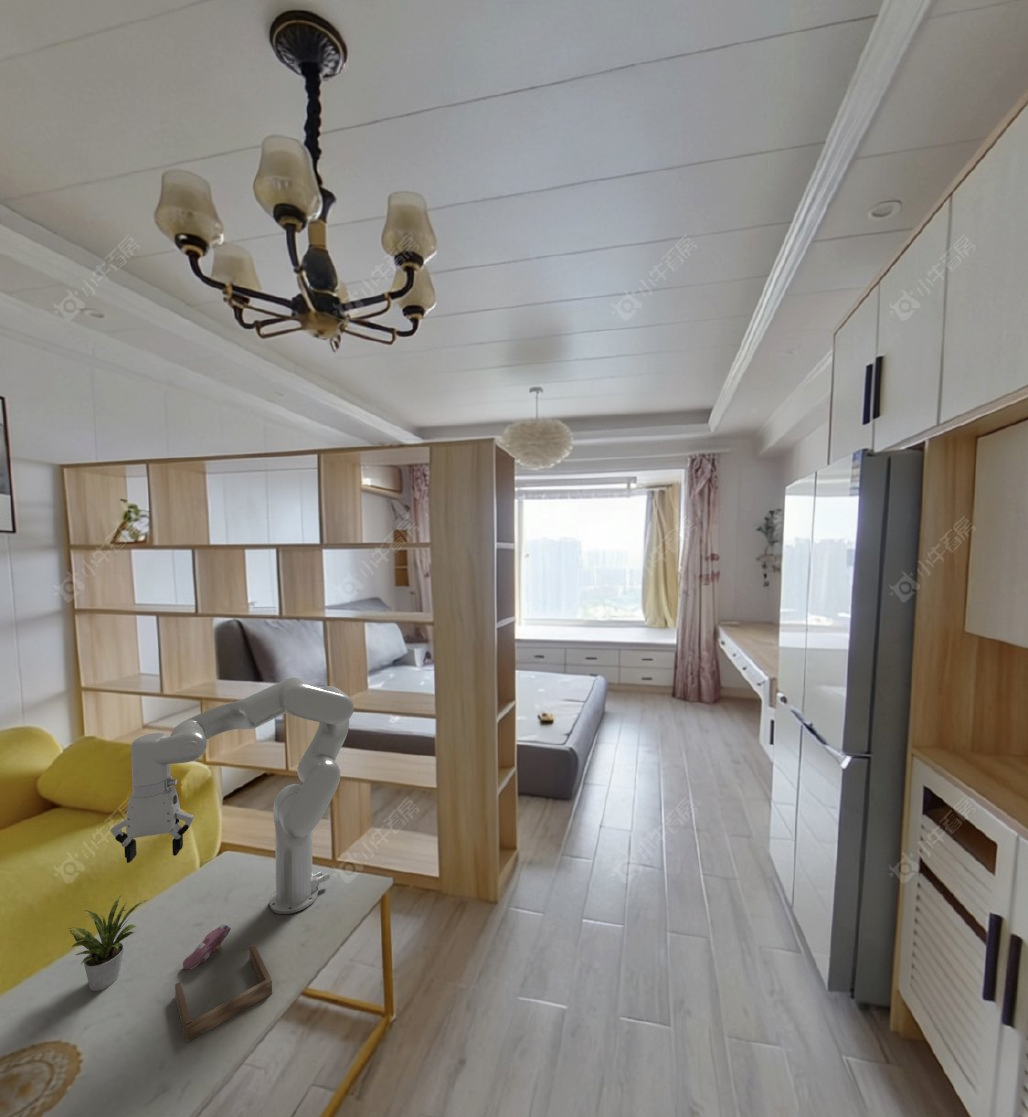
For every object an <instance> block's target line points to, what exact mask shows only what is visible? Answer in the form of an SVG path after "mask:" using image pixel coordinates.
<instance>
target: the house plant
mask: <svg viewBox="0 0 1028 1117" xmlns="http://www.w3.org/2000/svg"><path fill="white" fill-rule="evenodd" d="M121 896H122V894H120V895H119V896H118V897H117V898H116V899H115V901H114V903H113V905H112V906H111V909H110V911H109V914H108V918H107V922H106V918H105V916H104V915H102V914H100V916H99V914H97V913H95V912H93V911H90V910H88V909H87V910H86V909H84V910H83V911H84V912H85V913H86V914H88V915H89V916H87V915H86V916H85V917H87V918H90V919H91V920H93V922H94V924H95V927H96V930H97V933H98V935H99V938H100V940H98V939H97V938H96V937H95V936H94V935H93V934H92V932H89V931H88V930H87V929H85V928H81V927H76V926H75V927H74V926H72V927H67V929H69V930H68V931H69V932H70V934H71V935H72V936H73V938H74V940H75V943H73V944H72V946H71V948H74V947H79V946H82V947H84V948H86V949H87V950H84V951H80V952H78V953H76V954H75V956H79V955H86V957H84V958H83V959H82V962H81V963H80V965H82V964H83V965H84V970H85V974H86V978H87V982H88V986H89V989H90V990H91V991H93V992H94V991H95V992H96V991H100V990H104V989H106V988H108V987H109V986H111V985H113V983H115V982H116V981H118V978H119V976H120V971H121V965H122V961H123V954H124V951H125V944H124V943H123V942H122V941H123V940H125V939H126V938H128V937H129V936H130V935H133V934H134V933H136V932H134V931H131V930H132V929H134V928H137V926H136V925H135V924H128V925H127V926H126V927H124V926H125V924H126V923H127V922H128V921H129V920H130V919H131V917H130V918H128V917H129V916H130V915H131V913H132V912H133V911H135V910H136V908H138V907H139V906H140V905H141V904H143V903H145V902H147V901H148V899H146V900H143V901H141V902H138V903H137V904H135V905H134V906H132V907H131V908H130V909H129V910H128V909H125V908H126V906H127V904H128V902H127V901H126V902H125V903H124V904H123V905H122V907H121V908H120V910H119V912H118V914H117V915H116V917H115V914H116V911H117V909H118V906H119V902H120V899H121ZM125 911H128V912H126V914H125V915H124V916H123V918H122V920H121V917H122V914H123V912H125ZM101 917H102V919H101ZM114 918H115V919H114ZM127 918H128V919H127ZM120 920H121V921H120ZM123 927H124V928H123ZM121 929H122V930H121ZM120 930H121V931H120ZM79 933H80V934H79ZM100 941H101V942H100Z"/></svg>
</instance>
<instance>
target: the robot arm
mask: <svg viewBox="0 0 1028 1117" xmlns="http://www.w3.org/2000/svg"><path fill="white" fill-rule="evenodd" d="M354 710H355V704H354V702H353V700H352V698H351V697H350V696H349V695H348V694H346V693H345V692H343V690H341V689H340V688H338V687H335V686H333V685H326V686H323V687H322V688H318V687H315V686H312V685H310V684H308V683H307V682H306V681H304V680H303V679H301V678H299V677H290V678H286V679H284V680H282V681H279V682H277V683H276V684H273V685H271V686H268V687H267V688H264V689H262V690H260V691H257V692H256V693H253V694H251V695H249V696H247V697H245V698H242V699H239V700H236V701H232V702H228V703H225V704H222V705H219V706H216V707H215V706H214V707H213V708H211V709H208V710H207V709H206V710H205V711H203V712H200V713H198V714H197V715H194V716H192V717H189V718H188V719H186V720H183V721H181V722H180V723H179V724H177V725H176V726H175V727H174V728H173V730H172V731H171V733H170V735H169V736H168V734H167V733H164V732H152V733H148V734H144V735H142V736H139V737H137V738H135V739H134V740H133V741H132V742H131V746H130V757H131V761H130V762H131V783H132V784H131V787H132V794H131V795H130V796H129V799H128V804H127V809H126V819H123V821H120V822H119V823H117V824H116V825H114V826H112V827H111V829H110V832H111V834H112V836H113V837H115V838H114V839H115V840H116V841H117V842H119V843H120V844H121V847H123V848H124V858H126V864H129V863H131V862H132V861H133V860H134V859H135V857H136V856H137V840H136V839H137V838H143V837H150V836H151V837H152V836H158V835H163V834H169V835H171V837H173V839H172V840H171V841H172V842H171V843H172V846H171V847H172V856H173V857H174V856H177V855H178V854H179V852H180V851H181V850H182V849H183V847H184V840H183V839H184V836H183V835H184V834H186V833H185V832H187V831H188V830H189V828H190V826H191V825H192V823H193V821H194V819H195V815H193V814H190V813H187V812H184V811H181V807H180V800H179V794H178V792H177V788H176V786H175V785H177V784H178V779H177V778H173V776H172V774H171V765H172V764H173V765H174V764H176V765H177V764H187V763H191V762H194V761H196V760H198V759H199V758H201V757H203V755H204V754H205V752H206V751H207V748H208V747H207V746H208V741H207V740H209V739H211V738H213V737H216V736H217V735H220V734H223V733H226V732H229V731H234V730H253V729H256V728H259V727H260V726H262V725H264V724H266V723H269V722H271V721H272V720H275V719H277V718H279V717H280V716H281V717H282V716H283V715H285V714H289V715H291V716H294V717H297V718H300V719H304V720H308V721H313V722H317V723H318V727H317V730H316V732H315V734H314V735H313V736H314V737H313V738H312V740H311V742H310V744H309V745H308V747H307V749H306V750H305V752H304V754H303V755H302V757H301V759H300V761H299V763H298V765H297V769H296V773H297V777H298V778H299V780H300V782H301V783H302V784H299V783H292V784H288V785H287V786H284V787H283V788H282V789H281V790H280V791H279V792H278V794H277V795H276V797H275V799H274V802H273V819H274V820H273V821H274V822H273V823H274V835H275V838H274V839H275V840H274V841H275V848H274V849H275V851H274V852H275V855H274V856H275V891H274V892H273V893H272V895H271V896H270V898H269V909H270V910H271V911H272V912H273V913H275V914H279V915H290V914H295V913H297V912H300V911H302V910H304V909H306V908H308V907H309V906H311V904H313V903H314V902H315V901H316V899H317V898H318V896H319V886H320V884H322V883H325V882H327V881H328V880H330V879H331V876H330V873H329V872H325V873H322V871H321V870H320V871H318V872H316V873H314V874H313V831H314V830H315V829H316V827H317V826H318V824H319V823H320V821H321V820H322V818H323V816H324V814H325V812H326V810H327V808H328V806H329V805H330V803H331V801H332V799H333V797H334V796H335V794H336V792H337V789H338V788H339V784H340V780H341V768H340V767H339V764H338V763H337V762H336V760H337V757H338V755H339V753H340V750H341V749H342V747H343V745H344V743H345V740H346V738H347V736H348V732H349V727H350V718H351V717H352V716H353V714H354ZM181 821H184V825H183V826H181V824H180V822H181ZM125 827H126V828H125ZM124 828H125V829H126V830H125V831H126V832H125V831H123V830H122V829H124ZM134 838H135V839H134Z"/></svg>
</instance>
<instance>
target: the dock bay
mask: <svg viewBox="0 0 1028 1117" xmlns="http://www.w3.org/2000/svg"><path fill="white" fill-rule="evenodd" d="M249 960H250V962H251V963H252V966H253V968H254V970H255V972H256V974H257V977H258V979H259V981H260V982H259V983H258V984H256V985H254V986H252V987H250V988H249V989H246V990H245V991H243V992H241V993H239V994H238V995H236V996H234V997H232V998H231V999H229V1000H226V1001H225V1002H223V1003H221V1004H219V1005H218V1006H216V1007H214V1008H213V1009H210V1010H209V1011H207V1012H206V1013H203V1014H202V1015H200V1016H198V1017H197V1018H195V1019H191V1015H190V1010H189V1008H188V1004H187V1000H186V997H185V993H184V990H183V984H182V981H178V982H176V983H175V984H174V993H175V994H174V995H175V996H174V997H175V998H174V1000H175V1002H176V1006H177V1010H178V1014H179V1019H180V1022H181V1025H182V1026H181V1027H182V1029H183V1034H184V1036H185V1041H186V1043H189V1042H190V1041H192V1040H194V1039H195V1038H197V1037H200V1036H201V1035H202V1034H205V1033H206V1032H208V1031H209V1030H212V1029H213V1028H215V1027H217V1026H218V1025H220V1024H221V1023H224V1022H225V1021H227V1020H229V1019H230V1018H232V1017H235V1016H236V1015H237V1014H239V1013H241V1012H242V1011H244V1010H246V1009H248V1008H250V1007H251V1006H253V1005H255V1004H256V1003H258V1002H259V1001H261V1000H263V999H265V998H266V997H268V996H270V995H272V994H273V979H272V977H271V975H270V973H269V971H268V968H267V967H266V964H265V963H264V961H263V958H262V957H261V954H260V952H259V950H258V948H257V947H256V945H255V944H252V945H250V946H249Z"/></svg>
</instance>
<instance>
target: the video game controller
mask: <svg viewBox="0 0 1028 1117" xmlns="http://www.w3.org/2000/svg"><path fill="white" fill-rule="evenodd" d="M231 929H232V928H231V927H230V926H228V925H226V924H223V923H221V924H220V925H219V926H218V927H217V928H215V929H213V930H211V931H210V932H209V933H208V934H207V935H206V936H204V937H205V938H204V939H203V940H202V941H201V942H200V944H199V945H198V946H197V947H196V948H195V950H194V951H192V953H191V954H190V955H189V956H187V957H186V958H185V959H184V961H183V962H182V967H183V969H184V970H192V969H193V968H195V967H197V965H199V964H201V963H202V964H204V963H205V962H206V961H207V960H208V959H209V957H210V956H211V953H215V952H216V951H217V950H219V949H220V946H221V944H222V943H223V941H225V939H226V938H227V937H228V935H229V934H230V932H231Z"/></svg>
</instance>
